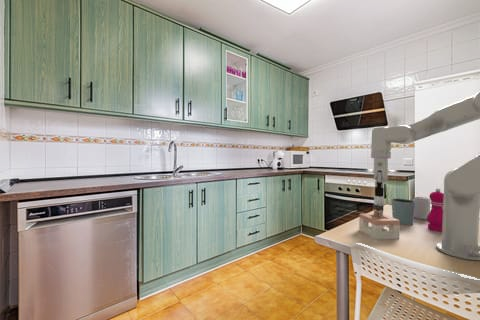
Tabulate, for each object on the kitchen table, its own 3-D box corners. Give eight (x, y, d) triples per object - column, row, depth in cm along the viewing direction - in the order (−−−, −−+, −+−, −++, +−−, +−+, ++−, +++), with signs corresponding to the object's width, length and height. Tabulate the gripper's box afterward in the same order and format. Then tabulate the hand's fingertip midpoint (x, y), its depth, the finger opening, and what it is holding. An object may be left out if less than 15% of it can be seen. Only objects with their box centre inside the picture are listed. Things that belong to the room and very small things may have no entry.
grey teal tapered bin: (402, 226, 110) (403, 202, 110) (385, 219, 120) (386, 198, 120) (419, 225, 112) (420, 202, 111) (401, 219, 122) (402, 197, 121)
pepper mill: (450, 232, 102) (452, 190, 101) (432, 231, 103) (434, 189, 102) (439, 227, 109) (441, 187, 108) (423, 226, 110) (424, 187, 109)
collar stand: (399, 238, 94) (399, 220, 94) (375, 239, 93) (376, 220, 93) (380, 229, 105) (381, 213, 105) (359, 230, 104) (359, 213, 104)
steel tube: (385, 217, 97) (386, 182, 97) (377, 217, 97) (378, 182, 96) (379, 215, 101) (380, 180, 100) (371, 215, 101) (372, 180, 100)
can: (413, 215, 129) (414, 195, 129) (430, 218, 124) (431, 197, 123) (411, 218, 124) (412, 197, 123) (428, 221, 118) (429, 199, 118)
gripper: (391, 155, 89) (389, 200, 90) (390, 155, 103) (389, 193, 103) (369, 155, 93) (368, 197, 94) (372, 154, 107) (370, 191, 108)
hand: (379, 195), depth 99 cm, fingers closed on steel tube, 3 cm apart
